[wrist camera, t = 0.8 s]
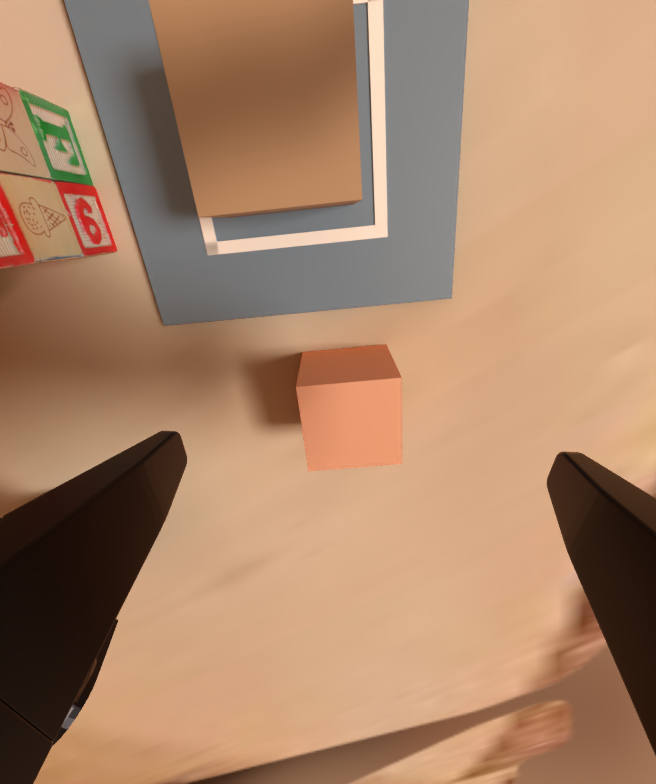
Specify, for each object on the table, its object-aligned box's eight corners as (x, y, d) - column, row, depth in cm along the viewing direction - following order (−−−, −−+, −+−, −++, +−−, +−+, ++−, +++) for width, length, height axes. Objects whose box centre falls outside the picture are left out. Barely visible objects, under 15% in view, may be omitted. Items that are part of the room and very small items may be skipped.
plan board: (448, 296, 20) (452, 298, 19) (168, 323, 20) (163, 326, 20) (472, -157, 13) (480, -176, 12) (43, -92, 13) (29, -107, 13)
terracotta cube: (387, 416, 23) (402, 463, 19) (312, 422, 23) (308, 471, 19) (385, 343, 21) (401, 377, 17) (302, 351, 21) (295, 387, 17)
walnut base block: (353, 204, 17) (362, 199, 13) (232, 217, 17) (198, 217, 13) (344, 39, 15) (350, -40, 10) (201, 58, 15) (145, -12, 10)
